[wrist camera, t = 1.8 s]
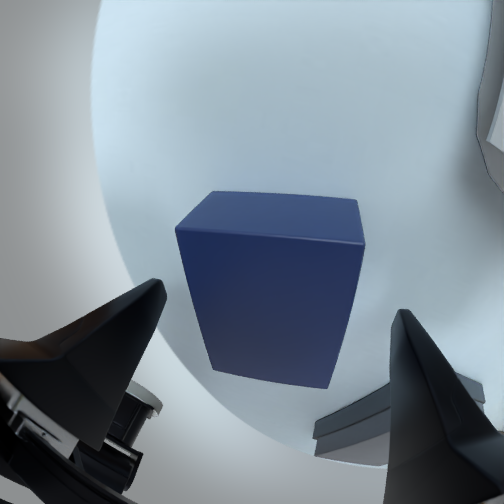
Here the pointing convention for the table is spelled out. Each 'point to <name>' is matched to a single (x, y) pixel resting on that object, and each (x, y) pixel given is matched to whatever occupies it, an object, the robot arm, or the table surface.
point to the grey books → (367, 428)
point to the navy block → (273, 281)
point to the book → (493, 99)
